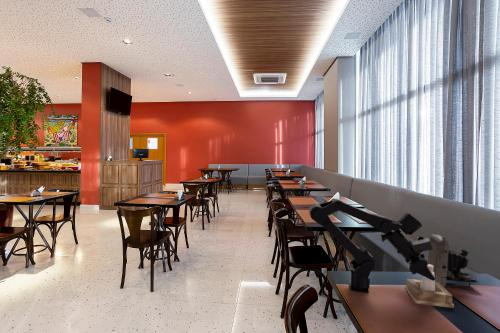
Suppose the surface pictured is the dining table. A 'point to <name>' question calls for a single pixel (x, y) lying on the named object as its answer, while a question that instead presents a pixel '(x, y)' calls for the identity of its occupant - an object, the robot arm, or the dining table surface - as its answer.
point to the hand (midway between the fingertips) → (433, 277)
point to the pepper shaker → (428, 281)
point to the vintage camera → (447, 262)
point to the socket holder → (429, 294)
